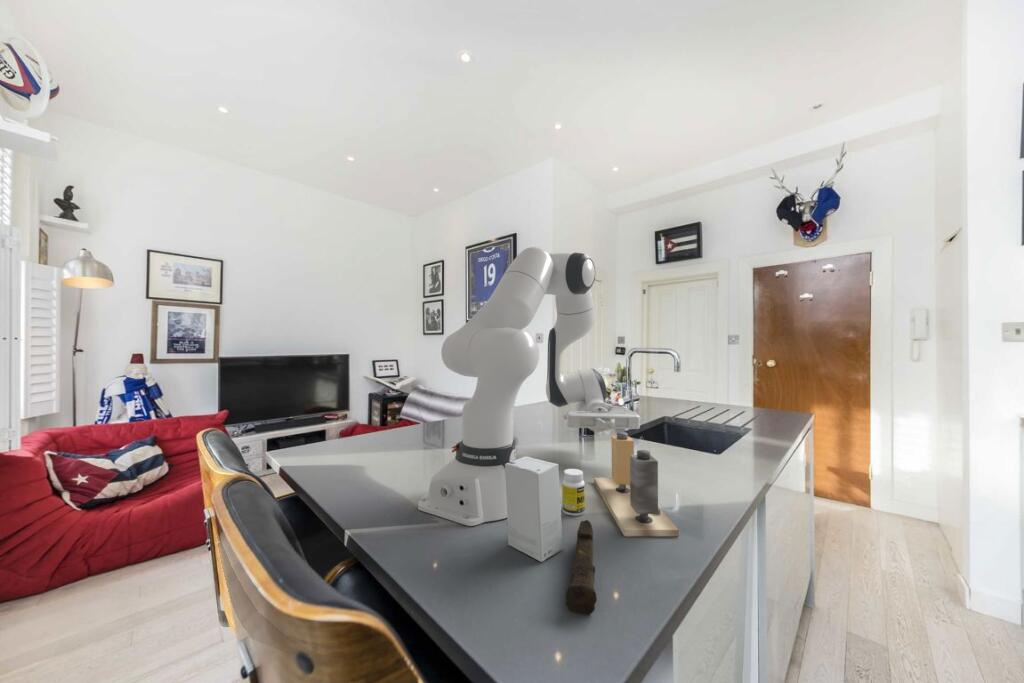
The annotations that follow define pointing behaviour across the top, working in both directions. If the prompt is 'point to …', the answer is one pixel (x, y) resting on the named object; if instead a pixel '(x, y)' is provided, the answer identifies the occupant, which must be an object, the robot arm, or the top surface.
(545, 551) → the skincare box
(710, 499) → the top surface
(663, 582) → the top surface
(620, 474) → the block
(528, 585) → the top surface
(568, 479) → the supplement bottle
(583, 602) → the hand tool
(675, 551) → the top surface
